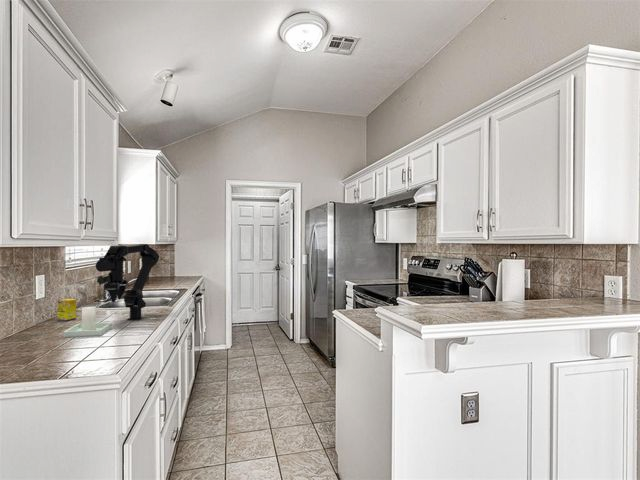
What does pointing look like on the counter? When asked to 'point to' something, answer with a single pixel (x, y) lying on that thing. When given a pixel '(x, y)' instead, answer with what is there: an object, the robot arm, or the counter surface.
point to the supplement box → (66, 309)
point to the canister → (89, 318)
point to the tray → (77, 330)
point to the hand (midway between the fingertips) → (116, 300)
